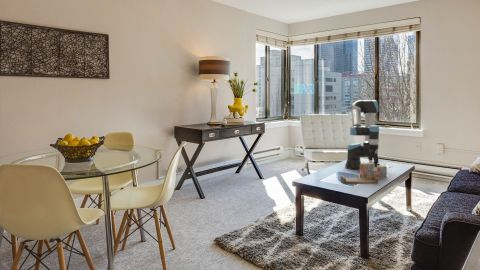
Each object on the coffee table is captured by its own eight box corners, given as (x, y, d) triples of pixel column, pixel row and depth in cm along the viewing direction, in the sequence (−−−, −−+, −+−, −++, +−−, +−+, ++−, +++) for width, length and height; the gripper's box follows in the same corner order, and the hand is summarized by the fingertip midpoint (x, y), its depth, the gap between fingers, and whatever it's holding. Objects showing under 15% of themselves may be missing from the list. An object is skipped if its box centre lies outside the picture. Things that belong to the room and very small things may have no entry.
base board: (340, 179, 278) (340, 174, 278) (373, 179, 276) (373, 175, 275) (343, 183, 266) (344, 178, 266) (378, 183, 264) (378, 178, 263)
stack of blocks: (382, 175, 290) (382, 161, 288) (386, 177, 284) (387, 163, 282) (359, 177, 286) (359, 162, 284) (363, 179, 280) (363, 164, 278)
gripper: (364, 142, 294) (364, 166, 297) (373, 146, 270) (372, 172, 272) (373, 142, 294) (372, 166, 296) (383, 146, 269) (382, 172, 271)
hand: (372, 169), depth 284 cm, fingers open, 13 cm apart
